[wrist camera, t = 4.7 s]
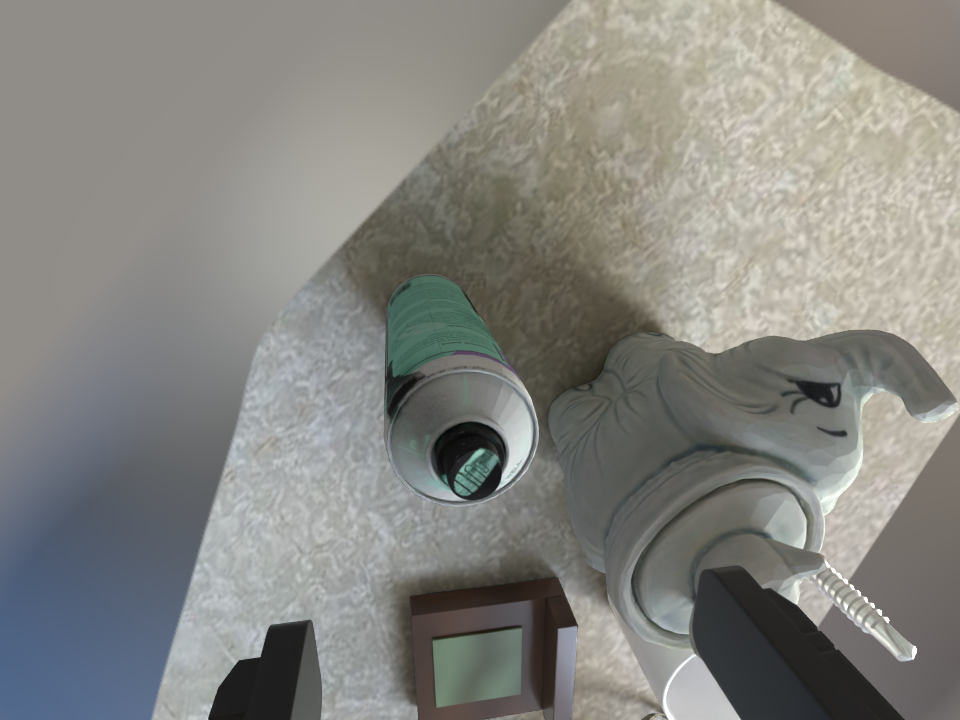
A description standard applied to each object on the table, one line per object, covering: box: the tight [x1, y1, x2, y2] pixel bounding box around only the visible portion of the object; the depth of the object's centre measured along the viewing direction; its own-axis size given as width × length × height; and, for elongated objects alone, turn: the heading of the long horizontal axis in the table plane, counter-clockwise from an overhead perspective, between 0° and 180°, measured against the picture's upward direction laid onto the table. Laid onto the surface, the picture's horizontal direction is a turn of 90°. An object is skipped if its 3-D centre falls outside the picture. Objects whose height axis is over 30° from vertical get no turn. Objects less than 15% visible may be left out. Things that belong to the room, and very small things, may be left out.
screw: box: [807, 562, 916, 661], centre depth 40 cm, size 13×5×5 cm
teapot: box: [548, 330, 959, 659], centre depth 30 cm, size 16×15×19 cm
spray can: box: [384, 273, 539, 506], centre depth 25 cm, size 6×6×20 cm
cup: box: [608, 594, 741, 720], centre depth 41 cm, size 8×12×10 cm
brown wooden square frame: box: [410, 578, 578, 720], centre depth 42 cm, size 12×12×5 cm
